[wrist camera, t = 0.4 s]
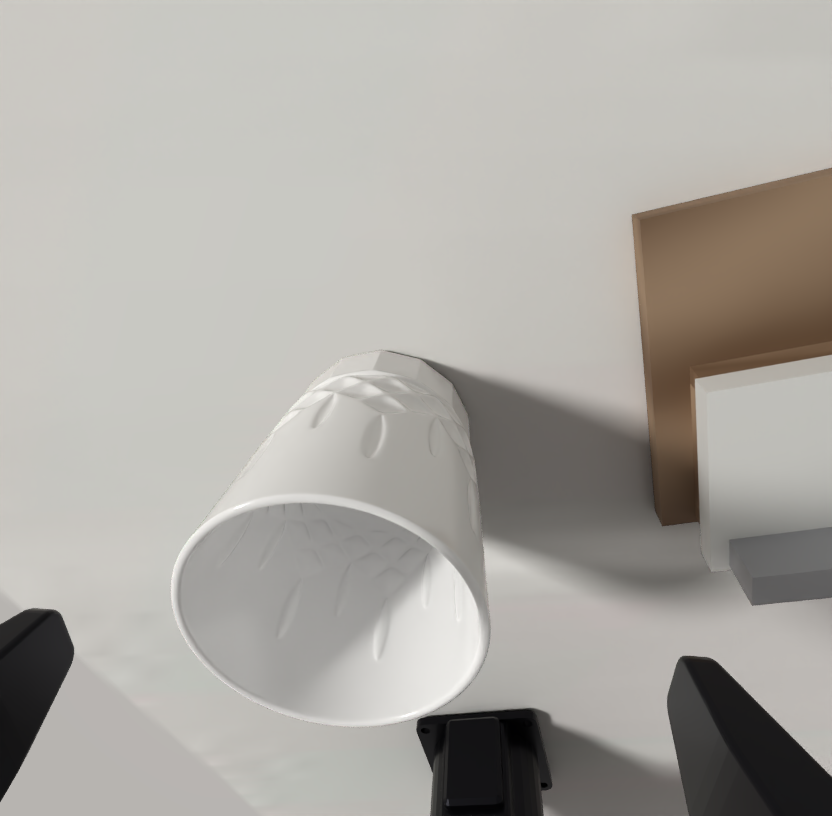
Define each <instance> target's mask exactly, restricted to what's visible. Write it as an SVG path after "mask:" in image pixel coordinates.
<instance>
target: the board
mask: <svg viewBox="0 0 832 816" xmlns="http://www.w3.org/2000/svg"><path fill="white" fill-rule="evenodd" d="M632 222H633V235H634V248H635V260H636V273H637V286H638V298H639V311H640V324H641V337H642V349H643V362H644V375H645V387H646V400H647V413H648V426H649V438H650V451H651V464H652V476H653V489H654V502H655V511H656V513H657V516H658V518H659V520H660V522H661V524H662V526H668V525H676V524H683V523H691V522H699V524H700V509H699V481H698V453H697V426H696V398H695V379H697V378H703V377H709V376H714V375H720V374H726V373H731V372H737V371H743V370H748V369H754V368H760V367H765V366H771V365H776V364H782V363H788V362H793V361H799V360H805V359H810V358H816V357H822V356H827V355H832V168H829V169H825V170H821V171H816V172H812V173H808V174H804V175H799V176H795V177H791V178H787V179H782V180H778V181H774V182H770V183H765V184H761V185H757V186H752V187H748V188H744V189H740V190H735V191H731V192H727V193H723V194H718V195H714V196H710V197H706V198H701V199H697V200H693V201H689V202H684V203H680V204H676V205H671V206H667V207H663V208H659V209H654V210H650V211H646V212H642V213H637V214H633V215H632Z"/></svg>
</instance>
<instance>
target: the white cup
mask: <svg viewBox="0 0 832 816" xmlns="http://www.w3.org/2000/svg"><path fill="white" fill-rule="evenodd" d="M171 602H172V608H173V612H174V616H175V619H176V622H177V625H178V627H179V629H180V632H181V634H182V636H183V637H184V639H185V641H186V643H187V644H188V646H189V647H190V649H191V650H192V651H193V653H194V654H195V655H196V657H197V658H198V659H199V660H200V661H201V662H202V664H203V665H204V666H205V667H206V668H207V669H208V670H209V671H210V672H211V673H213V674H214V675H215V676H216V677H217V678H218V679H219V680H221V681H222V682H223V683H225V684H226V685H227V686H229V687H230V688H231V689H233V690H234V691H236V692H237V693H239V694H241V695H242V696H244V697H246V698H247V699H249V700H251V701H253V702H255V703H257V704H259V705H261V706H263V707H265V708H267V709H270V710H272V711H275V712H277V713H280V714H283V715H286V716H289V717H292V718H295V719H299V720H303V721H307V722H311V723H316V724H322V725H329V726H338V727H377V726H386V725H392V724H397V723H402V722H406V721H410V720H413V719H416V718H419V717H422V716H424V715H427V714H429V713H431V712H433V711H436V710H437V709H439V708H441V707H443V706H445V705H446V704H448V703H449V702H451V701H452V700H453V699H455V698H456V697H457V696H459V695H460V694H461V693H462V692H463V691H464V690H465V689H466V688H467V687H468V686H469V685H470V684H471V682H472V681H473V680H474V679H475V677H476V676H477V674H478V673H479V671H480V669H481V667H482V665H483V663H484V661H485V658H486V656H487V652H488V648H489V643H490V634H491V625H490V613H489V603H488V592H487V581H486V570H485V558H484V547H483V535H482V522H481V510H480V499H479V491H478V486H477V475H476V467H475V461H474V457H473V452H472V449H471V445H470V431H469V417H468V414H467V412H466V410H465V408H464V406H463V404H462V402H461V400H460V398H459V396H458V394H457V392H456V390H455V388H454V386H453V384H452V383H451V382H450V381H449V380H447V379H446V378H445V377H443V376H442V375H441V374H439V373H438V372H437V371H435V370H434V369H433V368H432V367H430V366H429V365H428V364H426V363H425V362H424V361H422V360H421V359H417V358H413V357H409V356H405V355H401V354H396V353H392V352H388V351H384V350H379V351H374V352H368V353H363V354H358V355H353V356H348V357H343V358H342V359H340V360H339V361H338V362H337V363H335V364H334V365H333V366H331V367H330V368H329V369H327V370H326V371H325V372H324V373H322V374H321V375H320V376H318V377H317V378H316V379H315V380H314V381H313V382H312V383H311V385H310V386H309V387H308V389H307V390H306V392H305V393H304V394H303V396H302V397H301V398H300V399H299V400H298V401H297V402H296V403H295V404H294V405H293V406H292V407H291V408H290V409H289V410H288V412H287V413H286V414H285V415H284V416H283V417H282V419H281V420H280V422H279V423H278V425H277V426H276V427H275V428H274V429H273V430H272V432H271V433H270V434H269V435H268V436H267V437H266V438H265V440H264V441H263V442H262V443H261V445H260V446H259V447H258V449H257V450H256V451H255V453H254V454H253V455H252V457H251V458H250V459H249V461H248V462H247V463H246V465H245V466H244V467H243V469H242V470H241V471H240V473H239V474H238V475H237V477H236V478H235V479H234V481H233V482H232V483H231V485H230V486H229V487H228V489H227V490H226V491H225V493H224V494H223V495H222V496H221V498H220V499H219V500H218V502H217V503H216V504H215V506H214V507H213V508H212V510H211V511H210V512H209V513H208V515H207V516H206V517H205V519H204V520H203V521H202V523H201V524H200V525H199V527H198V528H197V529H196V530H195V532H194V533H193V534H192V536H191V537H190V538H189V539H188V541H187V542H186V544H185V545H184V547H183V548H182V550H181V552H180V554H179V556H178V558H177V560H176V563H175V566H174V569H173V573H172V579H171Z"/></svg>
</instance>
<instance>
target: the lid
mask: <svg viewBox="0 0 832 816" xmlns="http://www.w3.org/2000/svg"><path fill="white" fill-rule="evenodd" d="M695 398H696V426H697V453H698V481H699V509H700V536H701V554H702V556H703V558H704V559H705V561H706V563H707V565H708V567H709V569H710V571H711V572H719V571H728V570H732V571H733V573H734V575H735V577H736V578H737V580H738V582H739V584H740V585H741V587H742V589H743V591H744V592H745V594H746V596H747V598H748V599H749V601H750V603H751V605H752V606H753V605H763V604H773V603H783V602H793V601H803V600H812V599H822V598H832V355H827V356H822V357H816V358H810V359H805V360H799V361H793V362H788V363H782V364H776V365H771V366H765V367H760V368H754V369H748V370H743V371H737V372H731V373H726V374H720V375H714V376H709V377H703V378H697V379H695Z"/></svg>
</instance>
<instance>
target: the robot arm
mask: <svg viewBox="0 0 832 816" xmlns="http://www.w3.org/2000/svg"><path fill="white" fill-rule="evenodd" d="M73 657H74V646H73V643H72V641H71V638H70V636H69V633H68V630H67V628H66V625H65V623H64V620H63V618H62V616H61V614H60V613H59V612H58V611H56V610H52V609H38V608H32V609H28V610H25V611H23V612H21V613H19V614H18V615H16V616H14V617H12V618H11V619H9V620H7V621H5V622H4V623H2V624H0V802H1V800H2V798H3V797H4V795H5V793H6V792H7V790H8V788H9V786H10V785H11V783H12V781H13V779H14V778H15V776H16V774H17V773H18V771H19V769H20V767H21V765H22V763H23V761H24V759H25V757H26V755H27V753H28V752H29V750H30V748H31V745H32V744H33V742H34V740H35V738H36V735H37V733H38V731H39V729H40V727H41V725H42V723H43V721H44V719H45V717H46V715H47V713H48V711H49V709H50V707H51V705H52V703H53V701H54V699H55V697H56V695H57V693H58V691H59V688H60V687H61V685H62V682H63V681H64V678H65V677H66V675H67V672H68V670H69V668H70V666H71V664H72V661H73ZM667 708H668V715H669V720H670V725H671V730H672V735H673V740H674V744H675V749H676V754H677V759H678V764H679V769H680V774H681V779H682V783H683V788H684V793H685V798H686V803H687V808H688V813H689V816H832V777H831V776H830V775H829V774H828V773H827V772H826V771H825V770H824V769H823V768H822V767H821V766H820V765H819V764H818V763H817V762H816V761H815V760H814V759H813V758H812V757H811V756H810V755H809V754H808V753H807V752H806V751H805V750H804V749H803V748H802V747H801V746H800V745H799V744H798V743H797V742H796V741H795V740H794V739H793V738H792V737H791V736H790V735H789V734H788V733H787V732H786V731H785V730H784V729H783V728H782V727H781V726H780V725H779V724H778V723H777V722H776V721H775V720H774V719H773V718H772V717H771V716H770V715H769V714H768V713H767V712H766V711H765V710H764V709H763V708H762V707H761V706H760V705H759V704H758V703H757V702H756V701H755V700H754V699H753V698H752V697H751V696H750V695H749V694H748V693H747V692H746V691H745V690H744V688H743V687H742V686H741V685H740V684H739V683H738V682H737V681H736V680H735V679H734V678H733V677H732V676H731V675H730V674H729V673H728V672H727V671H726V670H725V669H724V668H723V667H722V666H721V665H720V664H718V663H717V662H716V661H715V660H713V659H711V658H708V657H697V656H682V657H681V658H680V659H679V660H678V662H677V665H676V668H675V671H674V675H673V678H672V682H671V685H670V689H669V692H668V697H667ZM416 730H417V734H418V736H419V739H420V741H421V744H422V747H423V749H424V752H425V754H426V757H427V759H428V762H429V764H430V767H431V770H432V772H433V782H432V798H431V814H430V816H544V814H543V804H542V794H541V791H542V790H548V789H551V787H552V779H551V774H550V770H549V766H548V761H547V757H546V753H545V749H544V745H543V741H542V736H541V732H540V728H539V724H538V720H537V716H536V714H535V713H534V712H532V711H528V710H524V711H510V712H497V713H483V714H470V715H456V716H443V717H429V718H421V719H419V720H418V721H417V728H416Z"/></svg>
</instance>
